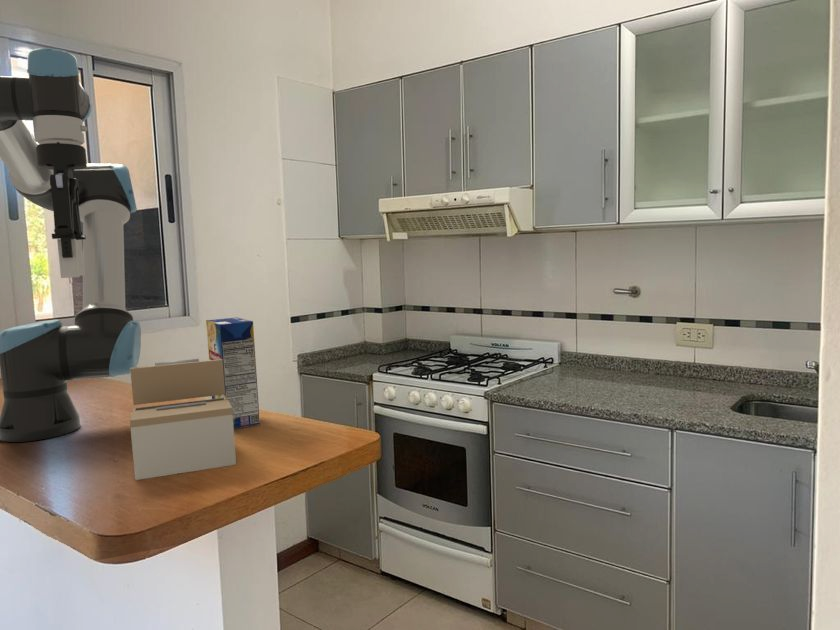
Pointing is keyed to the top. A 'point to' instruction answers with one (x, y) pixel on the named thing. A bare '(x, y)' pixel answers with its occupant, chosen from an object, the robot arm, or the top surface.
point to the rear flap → (177, 381)
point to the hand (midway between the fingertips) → (73, 276)
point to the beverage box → (236, 366)
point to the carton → (182, 437)
